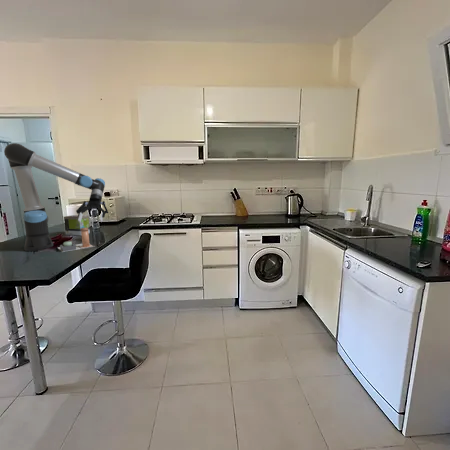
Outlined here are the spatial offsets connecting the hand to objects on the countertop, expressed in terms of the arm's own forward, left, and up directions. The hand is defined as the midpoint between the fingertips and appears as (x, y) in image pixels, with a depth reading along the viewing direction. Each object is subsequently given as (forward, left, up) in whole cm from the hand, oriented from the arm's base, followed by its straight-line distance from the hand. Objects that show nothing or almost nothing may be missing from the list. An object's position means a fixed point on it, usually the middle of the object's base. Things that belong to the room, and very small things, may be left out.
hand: (90, 221), depth 177 cm
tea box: (+2, +43, -16) cm, 46 cm away
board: (-11, -6, -16) cm, 20 cm away
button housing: (-16, -9, -16) cm, 24 cm away
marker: (-6, -8, -14) cm, 18 cm away
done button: (-16, -9, -13) cm, 22 cm away
